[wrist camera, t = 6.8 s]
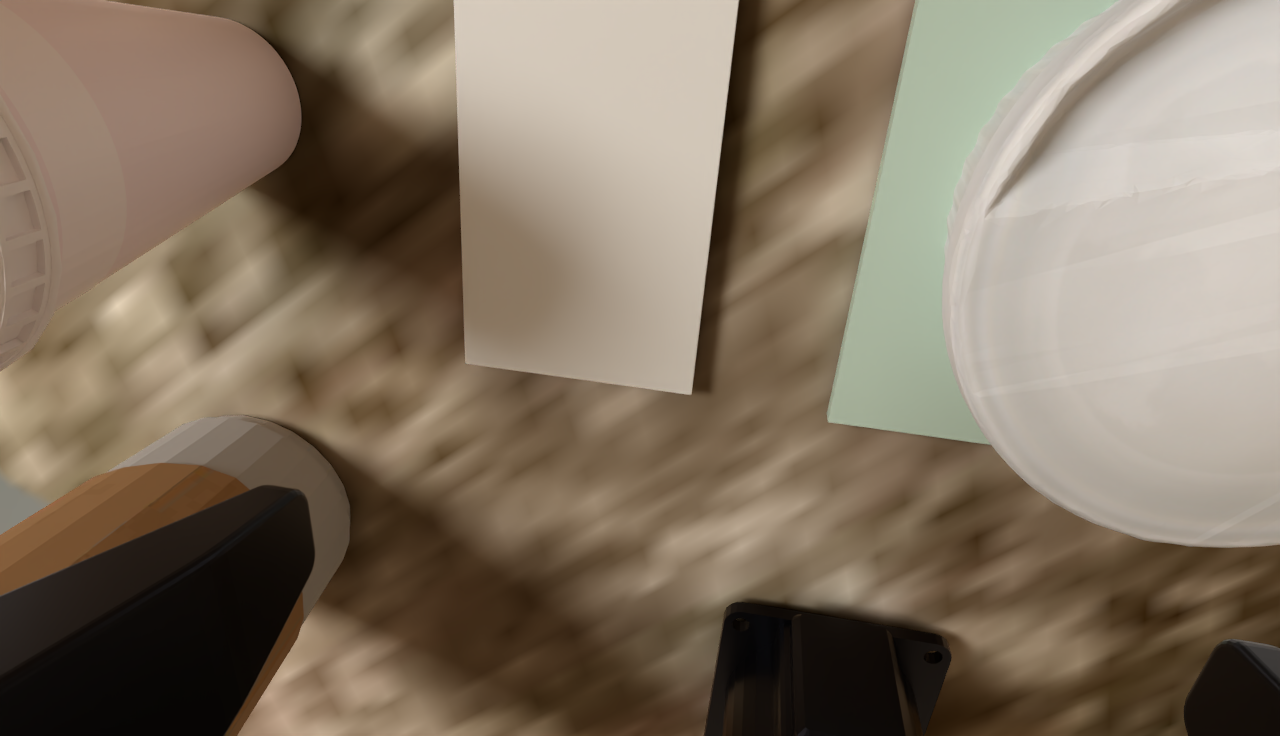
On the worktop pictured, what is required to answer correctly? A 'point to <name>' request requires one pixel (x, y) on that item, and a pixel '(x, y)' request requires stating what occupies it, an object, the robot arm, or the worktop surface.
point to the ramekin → (1131, 273)
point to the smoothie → (121, 141)
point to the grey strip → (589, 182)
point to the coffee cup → (188, 509)
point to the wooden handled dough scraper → (931, 207)
